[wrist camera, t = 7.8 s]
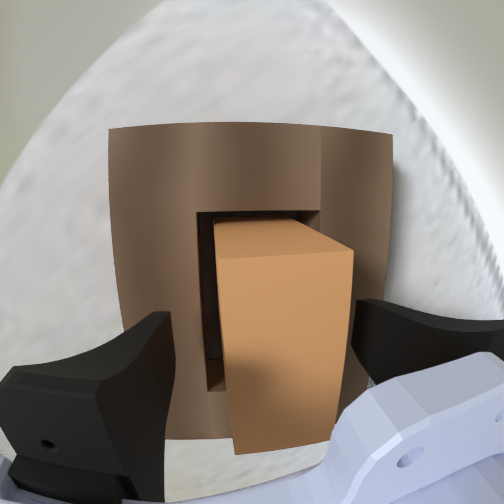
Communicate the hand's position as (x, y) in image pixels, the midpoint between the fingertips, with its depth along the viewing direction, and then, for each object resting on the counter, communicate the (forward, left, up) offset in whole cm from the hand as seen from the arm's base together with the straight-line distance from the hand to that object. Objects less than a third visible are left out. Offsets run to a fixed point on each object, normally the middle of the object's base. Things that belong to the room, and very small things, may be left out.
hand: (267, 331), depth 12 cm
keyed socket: (0, 0, -5) cm, 5 cm away
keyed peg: (0, 0, -5) cm, 5 cm away
